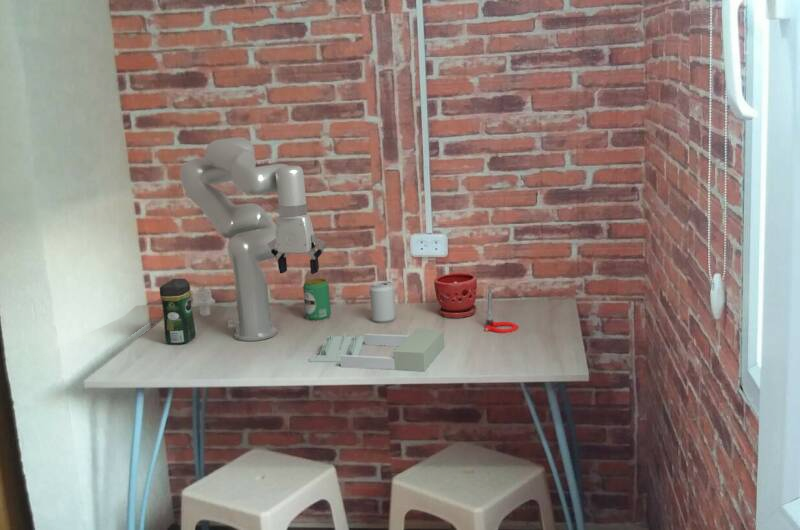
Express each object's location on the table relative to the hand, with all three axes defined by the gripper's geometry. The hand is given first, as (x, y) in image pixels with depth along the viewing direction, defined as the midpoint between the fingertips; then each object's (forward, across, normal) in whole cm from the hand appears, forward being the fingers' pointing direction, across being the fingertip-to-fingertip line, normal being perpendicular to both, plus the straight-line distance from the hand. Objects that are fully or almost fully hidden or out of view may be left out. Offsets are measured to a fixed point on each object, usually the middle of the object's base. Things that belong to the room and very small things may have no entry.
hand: (299, 272), depth 251 cm
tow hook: (+24, +49, +30) cm, 62 cm away
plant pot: (+23, +31, +42) cm, 58 cm away
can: (+23, +11, +32) cm, 41 cm away
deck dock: (+23, +26, 0) cm, 35 cm away
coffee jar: (+22, -43, +1) cm, 48 cm away
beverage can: (+22, -11, +31) cm, 40 cm away
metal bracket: (+24, +11, -1) cm, 26 cm away
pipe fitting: (+22, -51, +28) cm, 62 cm away
